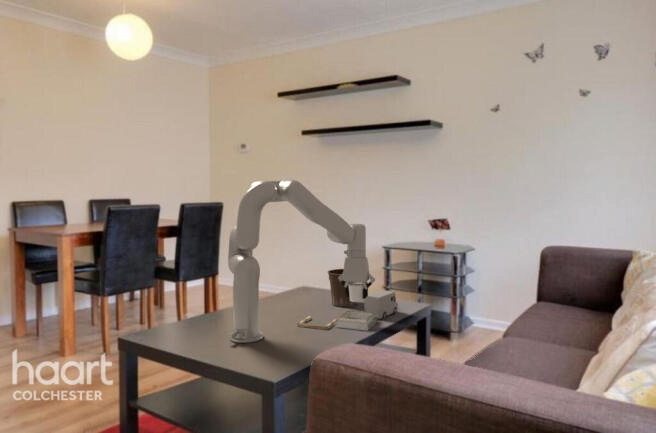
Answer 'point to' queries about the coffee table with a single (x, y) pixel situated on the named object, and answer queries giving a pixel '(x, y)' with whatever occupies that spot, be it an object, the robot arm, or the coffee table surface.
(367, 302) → the toy vehicle
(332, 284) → the plant pot
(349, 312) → the plate
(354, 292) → the white cup
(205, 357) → the coffee table surface
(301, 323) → the cradle
